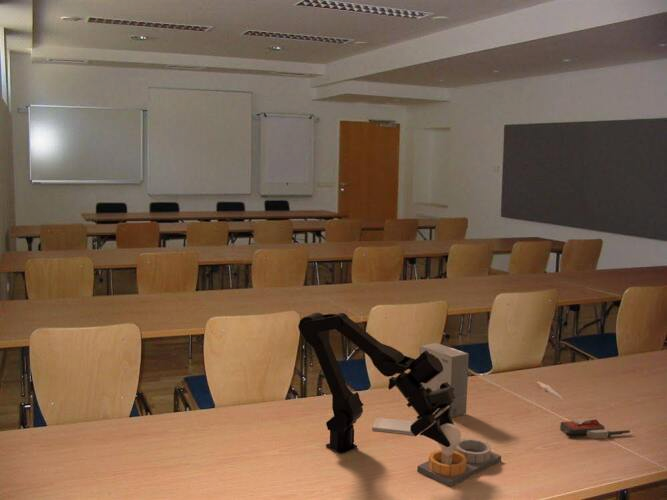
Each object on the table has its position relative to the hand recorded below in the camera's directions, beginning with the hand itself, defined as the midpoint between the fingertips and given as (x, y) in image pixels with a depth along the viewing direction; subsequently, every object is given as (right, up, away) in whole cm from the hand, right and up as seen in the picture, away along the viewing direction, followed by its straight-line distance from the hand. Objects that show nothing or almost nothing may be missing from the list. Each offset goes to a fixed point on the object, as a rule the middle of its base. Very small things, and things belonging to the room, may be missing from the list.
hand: (453, 441), depth 178 cm
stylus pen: (+45, -1, +63) cm, 78 cm away
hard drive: (-13, -5, +31) cm, 33 cm away
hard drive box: (+4, -2, +46) cm, 46 cm away
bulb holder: (+3, -8, +6) cm, 10 cm away
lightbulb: (-1, -7, +2) cm, 7 cm away
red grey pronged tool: (+47, -6, +29) cm, 56 cm away
